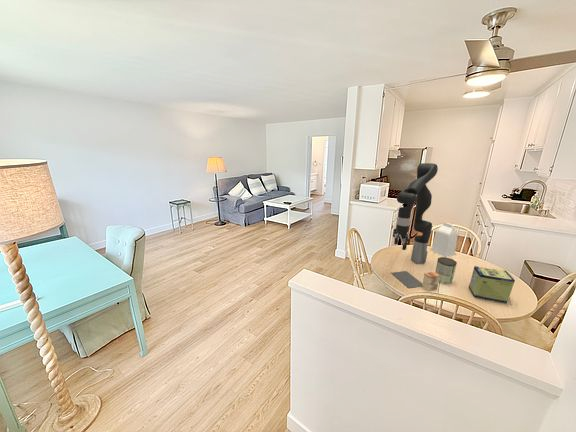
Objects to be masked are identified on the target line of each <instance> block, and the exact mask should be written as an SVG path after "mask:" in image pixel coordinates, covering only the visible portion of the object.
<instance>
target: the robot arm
mask: <svg viewBox="0 0 576 432" xmlns="http://www.w3.org/2000/svg"><path fill="white" fill-rule="evenodd" d="M416 169H417V170H416V179H413V181H411V182H410V183H409V185H408V186H407V187H406V188H404V189H402V190H401V191H400V192H399V193H398V194H397V196H396V201H397V202H398V203H399V204H403V205H407V206H402V207H399V209H398V212H397V219H396V223H395V224H396V225H395V228H393V232H392V237H393V239H394V242H393V244H394V245H398V244H399V239H400V241H401V242H402V247H401V249H402V250H403V251H406V250H407V248H408V247H407V246H409V245H411V235H408V232H409V231H410V226H411V225H410V224H411V216H412V212H413V208H414V206H415V215H414V216H415V217H414V222H413V230H414V231H415V232H417V233H421V234H422V235H421V234H420V235H419V234H418V235H415V236H414V239H413V244H412V249H411V257H410V261H411V262H412V263H414V264H418V265H422V264H423V265H424V264H425V263H426V262H427V256H428V246H429V240H430V237H431V233H432V229H433V223H432V222H431V221H428V220H424V219H423V215H424V214H425V212H426V211H427V210H428V209H429V208H430V207H431V205H432V197H433V195H432V193H431V191H430V189H429V188H428V186H427V184H428V183H429V182H430V181H431V180H432V179H434V178H435V176H436V175H437V173H438V171H439V169H438V164H436V163H432V162H431V163H429V162H428V163H425V162H424V163H419V164H418V166H417V168H416Z"/></svg>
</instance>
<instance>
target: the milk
mask: <svg viewBox="0 0 576 432" xmlns="http://www.w3.org/2000/svg"><path fill="white" fill-rule="evenodd" d="M458 235H459V233H458V232H457V230H456V229H455V225H454V224H452V223H448V222H444V223H443V224H441V226H440V227H439V228H438V229H437V230H436V231H435V235H434V239H433V242H432V246H431V250H430V252H431V251H433V252H432V253H434V252H435V253H434V254H436V253H437V255H438V254H439V256H441V255H442V256H441V257H443V256H444V257H445V258H448V257H447V256H449V257H451V256H450V255H452V256H454V254H455V255H456V251H457V250H456V249H457V242H458Z"/></svg>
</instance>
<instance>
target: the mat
mask: <svg viewBox="0 0 576 432" xmlns="http://www.w3.org/2000/svg"><path fill="white" fill-rule="evenodd" d="M391 274H392V276H394V278H396V279H397V280H398V281H399V282H400V283H401V284H402V285H404V286H405V287H406V288H407V289H414V288H421V287H422V284H423V282H422V281H420V280H419V279H418V278H417V277H415V276H413V275H412V273H410V272H408V271H407V270H403V271H394V272H391ZM422 288H423V287H422Z"/></svg>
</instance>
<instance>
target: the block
mask: <svg viewBox="0 0 576 432" xmlns="http://www.w3.org/2000/svg"><path fill="white" fill-rule="evenodd" d="M439 278H440V275H438V274H437V273H435V271H431V272H424V275H423V278H422V283H423V284H422V288H423V289H424V290H425V291H426V292H429V291H436V290H438V287H439V283H440V282H439Z"/></svg>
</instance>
